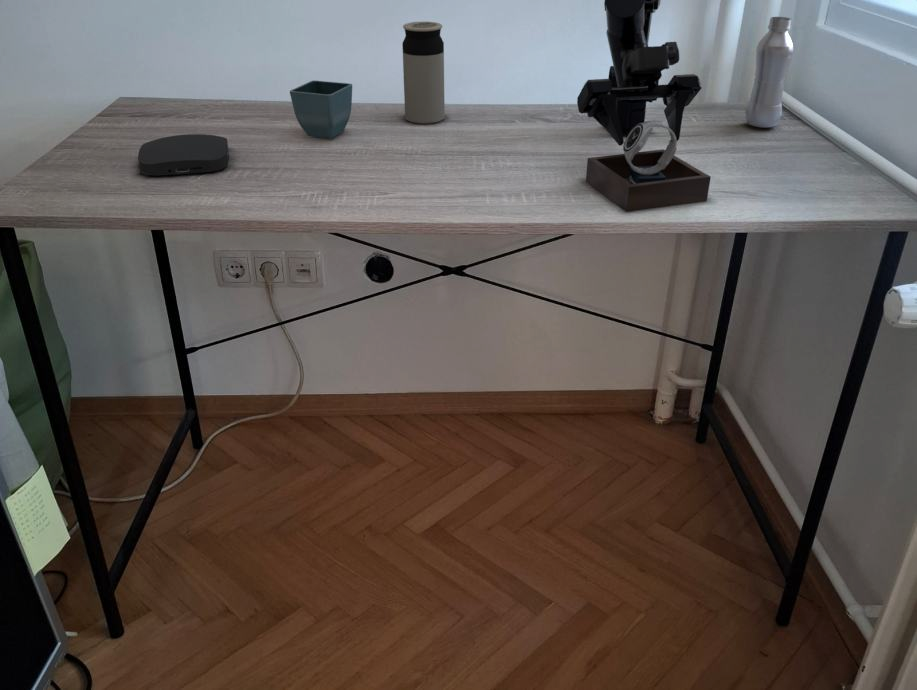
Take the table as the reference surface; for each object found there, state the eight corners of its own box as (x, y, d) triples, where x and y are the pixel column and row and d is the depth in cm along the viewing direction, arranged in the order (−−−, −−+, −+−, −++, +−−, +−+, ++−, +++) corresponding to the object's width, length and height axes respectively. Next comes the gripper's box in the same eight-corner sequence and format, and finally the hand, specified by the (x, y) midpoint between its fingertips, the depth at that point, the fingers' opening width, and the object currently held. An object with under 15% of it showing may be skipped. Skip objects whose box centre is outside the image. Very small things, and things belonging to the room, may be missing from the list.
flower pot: (293, 138, 156) (287, 90, 152) (317, 125, 163) (312, 79, 159) (334, 144, 154) (330, 95, 149) (356, 130, 161) (353, 83, 156)
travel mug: (452, 117, 168) (451, 23, 159) (430, 127, 163) (428, 30, 153) (419, 111, 172) (417, 19, 163) (397, 120, 166) (393, 26, 157)
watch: (615, 185, 135) (622, 118, 129) (663, 184, 135) (672, 116, 130) (624, 198, 130) (632, 128, 124) (674, 196, 131) (684, 127, 125)
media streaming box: (147, 151, 150) (143, 135, 148) (230, 146, 152) (227, 130, 151) (137, 179, 138) (133, 161, 136) (228, 173, 140) (225, 155, 139)
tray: (585, 181, 136) (587, 157, 134) (660, 172, 140) (663, 149, 138) (626, 212, 125) (629, 186, 123) (706, 201, 129) (710, 176, 127)
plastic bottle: (780, 132, 159) (803, 22, 149) (744, 130, 160) (763, 21, 150) (776, 122, 165) (797, 15, 154) (741, 120, 166) (760, 14, 155)
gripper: (589, 24, 123) (609, 119, 119) (705, 19, 126) (728, 111, 123) (568, 67, 133) (586, 155, 130) (676, 62, 137) (696, 147, 133)
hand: (649, 142), depth 129 cm, fingers open, 9 cm apart
